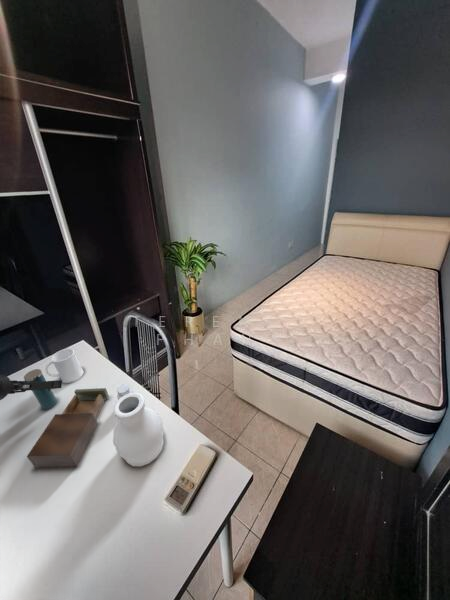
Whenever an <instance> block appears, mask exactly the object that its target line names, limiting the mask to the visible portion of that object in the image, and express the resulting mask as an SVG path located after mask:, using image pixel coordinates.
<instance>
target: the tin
mask: <svg viewBox="0 0 450 600" xmlns="http://www.w3.org/2000/svg"><path fill="white" fill-rule="evenodd" d="M23 381H27V382H45V381H47V380H46V378H45V377H44V374H43V371H42V370H41V369H39V368H36V369H32V370H30V371H28V372H26V374H24V376H23ZM31 392H32V394H33V395H34V397H35V399H36V400H37V402H38V403H39V405H40V407H41V408H42V410H44V411H48V410H51V409H53V408H54V407H55V406H56V405H57V403H58V399H57V398H56V396H55V395H54V392H53V390H51V391H48V389H41V390H31Z"/></svg>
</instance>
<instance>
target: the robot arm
mask: <svg viewBox="0 0 450 600" xmlns="http://www.w3.org/2000/svg"><path fill="white" fill-rule="evenodd" d="M62 385H63V382H62V380H61V379H60V380H46V381H45V382H27V381H25V380H14V379H13V380H11V379H10V378H9V376H8V375H5V374H0V401H2V400H3V399H5V398H6V397H7V396H8V395H14V394H16V393H25V392H26V391H32V390H41V389H48V391H52V390H56V389H62Z"/></svg>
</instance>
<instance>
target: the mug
mask: <svg viewBox="0 0 450 600" xmlns="http://www.w3.org/2000/svg"><path fill="white" fill-rule="evenodd" d="M51 365H54V368H55V369H56V371H57V374H52V373H49V371H48V368H49V367H50V366H51ZM45 373H46V375H48V376H50V377H53V378H58V377H60V380H62V383H64V384H69V383H70V384H71V383H73V382H76V381H78V380H79V379H80V378H81V377H82V376H83V375H84V370H83V368H82V366H81V364H80V361H79V359H78V357H77V355H76V353H75V351H74V349H72V348H64V349H60V350H58V351H56V352H55V353H54V354H53V355H52V356H51V361H49V362H48V364H47V365H46V366H45Z"/></svg>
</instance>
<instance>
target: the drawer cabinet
mask: <svg viewBox="0 0 450 600" xmlns="http://www.w3.org/2000/svg"><path fill="white" fill-rule="evenodd" d="M97 421H98V420H97V418H96V419H95V417H94V415H93V413H77V414H62V413H56V414H54V416H53V417H52V418H51V420H50V421H49V423H48V424H47V426H46V427H45V429H44V430H43V432H42V433H41V435H40V436H39V438H38V439H37V441H36V442H35V444H34V445H33V447H32V448H31V449H30V451H29V452H28V454H27V455H26V458H27V459H28V460H29V461H30V463H31V464H32V465H33V467H34V468H35V469H53V468H54V469H55V468H78V466H79V464H80V463H81V460H82V458H83V456H84V454H85V452H86V451H87V448H88V446H89V445H90V443H91V440H92V438H93V436H94V434H95V432H96V429H97V427H98V425H99V423H98V422H97Z"/></svg>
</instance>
